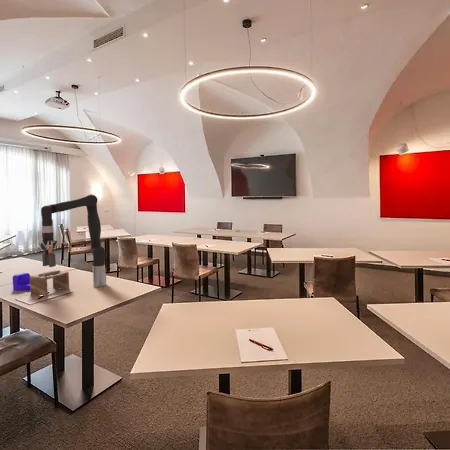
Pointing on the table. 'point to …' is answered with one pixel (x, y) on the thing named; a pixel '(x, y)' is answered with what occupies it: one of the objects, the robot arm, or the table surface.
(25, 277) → the bracket
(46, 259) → the dark grey orange block
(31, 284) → the shelf rack
